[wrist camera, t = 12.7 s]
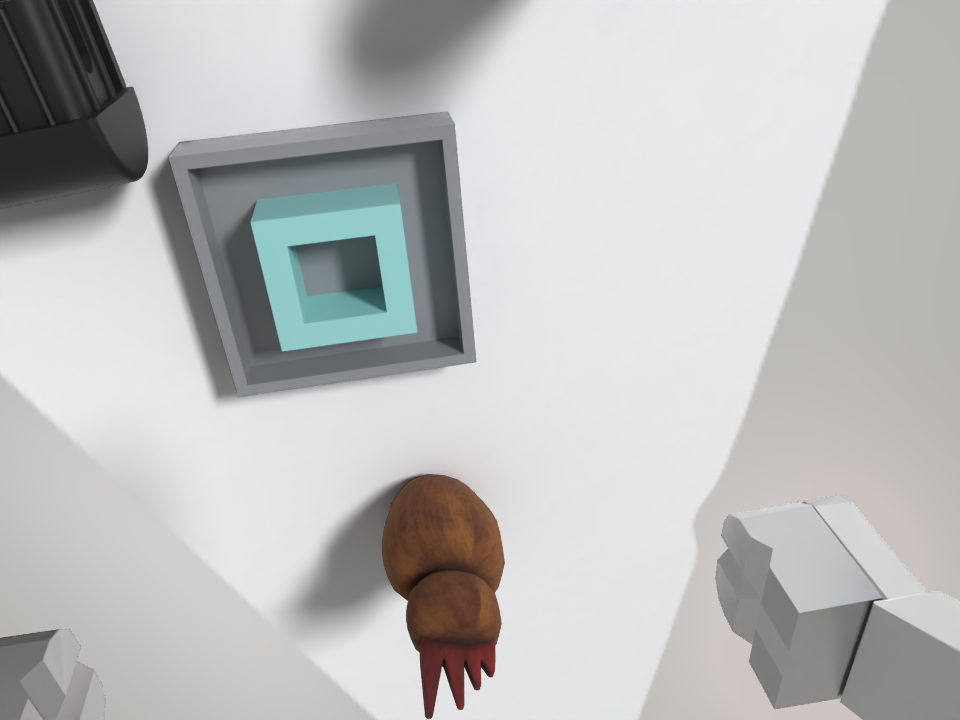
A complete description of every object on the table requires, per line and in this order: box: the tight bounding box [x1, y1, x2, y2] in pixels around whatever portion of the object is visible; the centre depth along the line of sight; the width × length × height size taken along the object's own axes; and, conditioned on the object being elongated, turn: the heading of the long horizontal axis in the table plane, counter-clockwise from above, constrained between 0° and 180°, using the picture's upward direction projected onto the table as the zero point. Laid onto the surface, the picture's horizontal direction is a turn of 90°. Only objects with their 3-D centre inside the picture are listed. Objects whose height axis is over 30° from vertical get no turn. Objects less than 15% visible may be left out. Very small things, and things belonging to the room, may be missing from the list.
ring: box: [251, 183, 417, 351], centre depth 36 cm, size 6×6×3 cm
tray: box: [169, 112, 476, 397], centre depth 36 cm, size 12×12×2 cm
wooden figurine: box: [382, 474, 505, 719], centre depth 40 cm, size 7×6×15 cm
